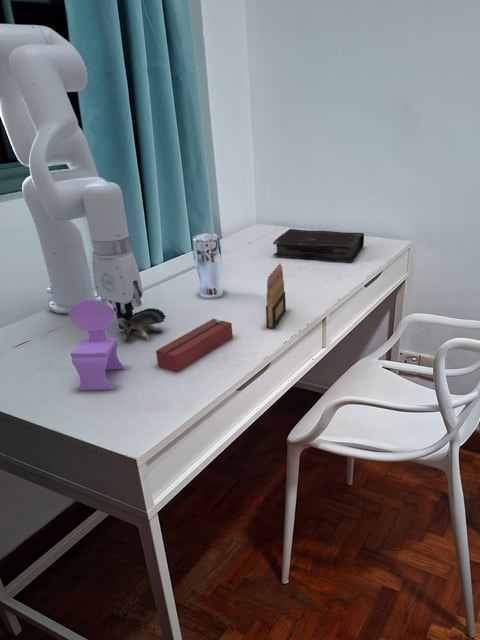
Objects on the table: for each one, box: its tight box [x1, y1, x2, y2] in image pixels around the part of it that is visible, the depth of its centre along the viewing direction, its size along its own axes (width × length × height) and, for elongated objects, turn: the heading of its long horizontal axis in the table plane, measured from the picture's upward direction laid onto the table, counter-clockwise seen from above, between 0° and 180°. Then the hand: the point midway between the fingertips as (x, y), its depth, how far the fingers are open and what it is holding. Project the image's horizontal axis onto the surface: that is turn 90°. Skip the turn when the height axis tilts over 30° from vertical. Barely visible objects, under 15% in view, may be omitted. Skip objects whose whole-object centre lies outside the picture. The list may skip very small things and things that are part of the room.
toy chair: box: [68, 299, 126, 391], centre depth 99 cm, size 8×9×15 cm
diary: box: [272, 228, 365, 263], centre depth 170 cm, size 19×25×5 cm
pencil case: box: [155, 318, 234, 373], centre depth 111 cm, size 5×18×4 cm, turn 149°
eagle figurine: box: [116, 307, 167, 343], centre depth 118 cm, size 8×7×9 cm
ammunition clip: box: [265, 262, 287, 330], centre depth 123 cm, size 11×2×12 cm, turn 166°
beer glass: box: [191, 232, 224, 299], centre depth 137 cm, size 7×7×15 cm
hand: (127, 327), depth 121 cm, fingers closed
